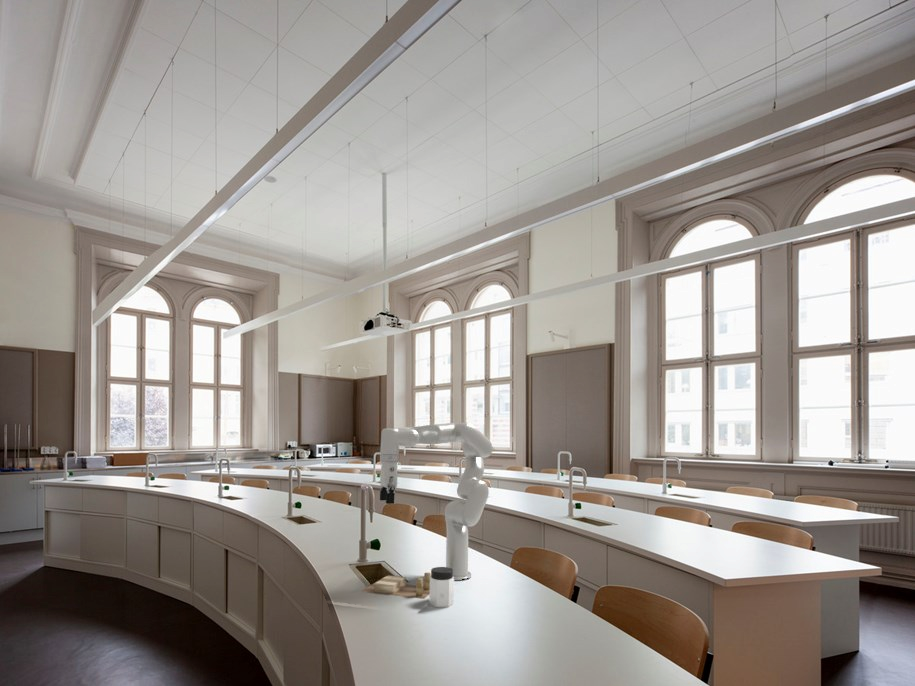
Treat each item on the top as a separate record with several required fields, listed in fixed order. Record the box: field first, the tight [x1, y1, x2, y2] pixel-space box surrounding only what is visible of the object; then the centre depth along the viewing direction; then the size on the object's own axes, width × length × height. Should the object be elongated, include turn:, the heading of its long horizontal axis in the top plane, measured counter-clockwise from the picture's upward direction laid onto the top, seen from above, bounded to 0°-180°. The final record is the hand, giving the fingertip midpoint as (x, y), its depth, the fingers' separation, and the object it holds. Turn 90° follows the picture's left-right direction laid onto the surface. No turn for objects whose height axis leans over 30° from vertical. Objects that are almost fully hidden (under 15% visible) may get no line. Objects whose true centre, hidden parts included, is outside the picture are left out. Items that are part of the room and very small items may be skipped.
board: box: [361, 572, 431, 600], centre depth 215 cm, size 14×26×7 cm, turn 72°
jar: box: [428, 566, 455, 608], centre depth 202 cm, size 9×8×12 cm
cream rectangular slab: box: [373, 575, 407, 595], centre depth 216 cm, size 12×8×3 cm, turn 162°
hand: (386, 501), depth 222 cm, fingers open, 9 cm apart
